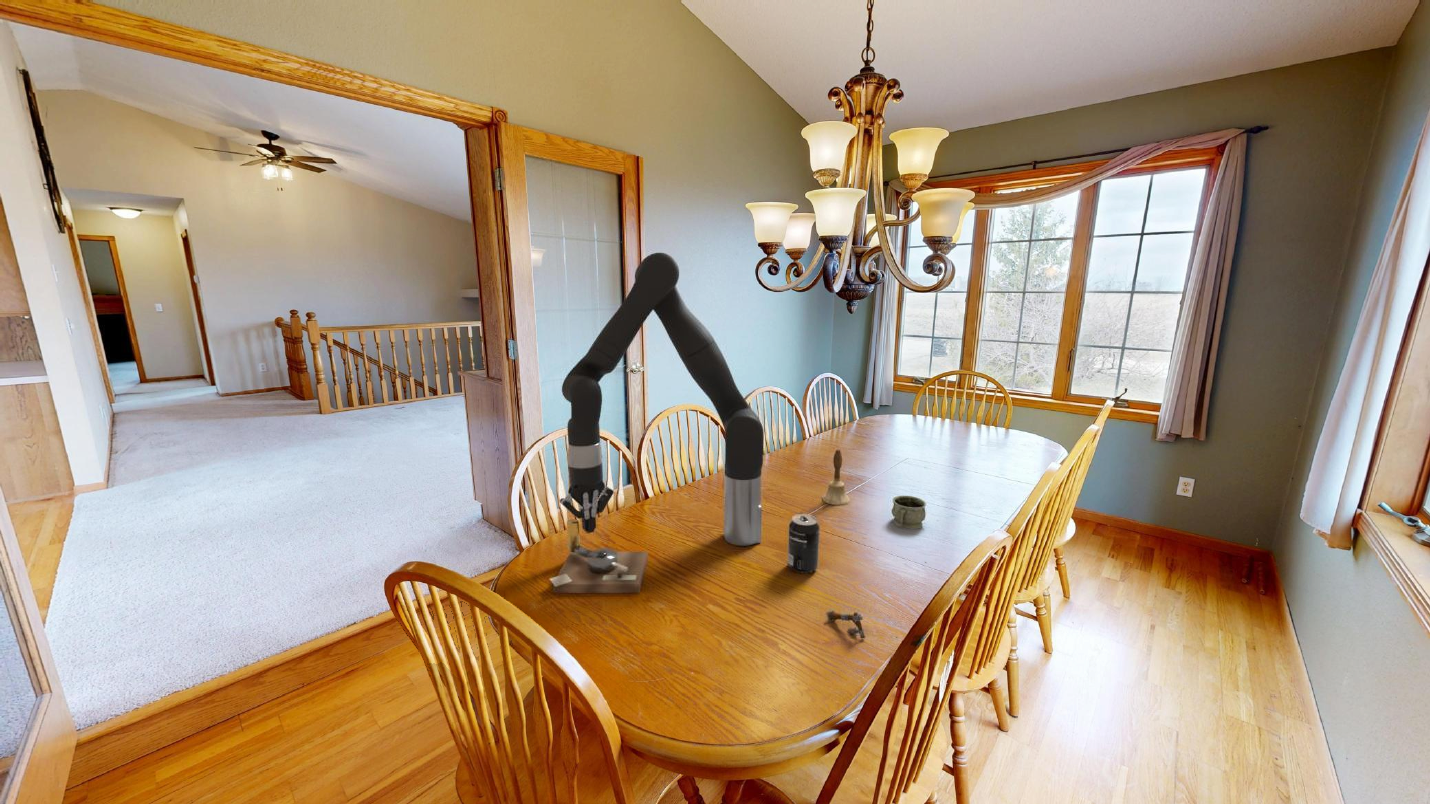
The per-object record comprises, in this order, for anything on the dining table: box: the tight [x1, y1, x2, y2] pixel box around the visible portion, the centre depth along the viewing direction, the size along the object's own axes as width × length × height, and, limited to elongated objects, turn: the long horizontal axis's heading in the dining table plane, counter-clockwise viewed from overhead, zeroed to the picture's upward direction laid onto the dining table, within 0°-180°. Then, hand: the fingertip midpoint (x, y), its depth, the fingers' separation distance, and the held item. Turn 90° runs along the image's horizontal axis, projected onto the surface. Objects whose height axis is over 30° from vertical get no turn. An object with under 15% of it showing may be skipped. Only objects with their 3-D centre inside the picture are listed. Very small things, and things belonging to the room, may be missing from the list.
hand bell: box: [821, 448, 851, 506], centre depth 157 cm, size 8×8×16 cm
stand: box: [549, 551, 648, 594], centre depth 116 cm, size 19×15×3 cm
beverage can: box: [787, 513, 821, 574], centre depth 118 cm, size 7×7×12 cm
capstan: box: [566, 518, 628, 573], centre depth 116 cm, size 18×6×8 cm, turn 54°
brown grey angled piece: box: [826, 609, 866, 639], centre depth 97 cm, size 2×8×4 cm, turn 37°
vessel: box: [891, 495, 927, 529], centre depth 143 cm, size 12×9×6 cm
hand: (589, 531), depth 123 cm, fingers closed
